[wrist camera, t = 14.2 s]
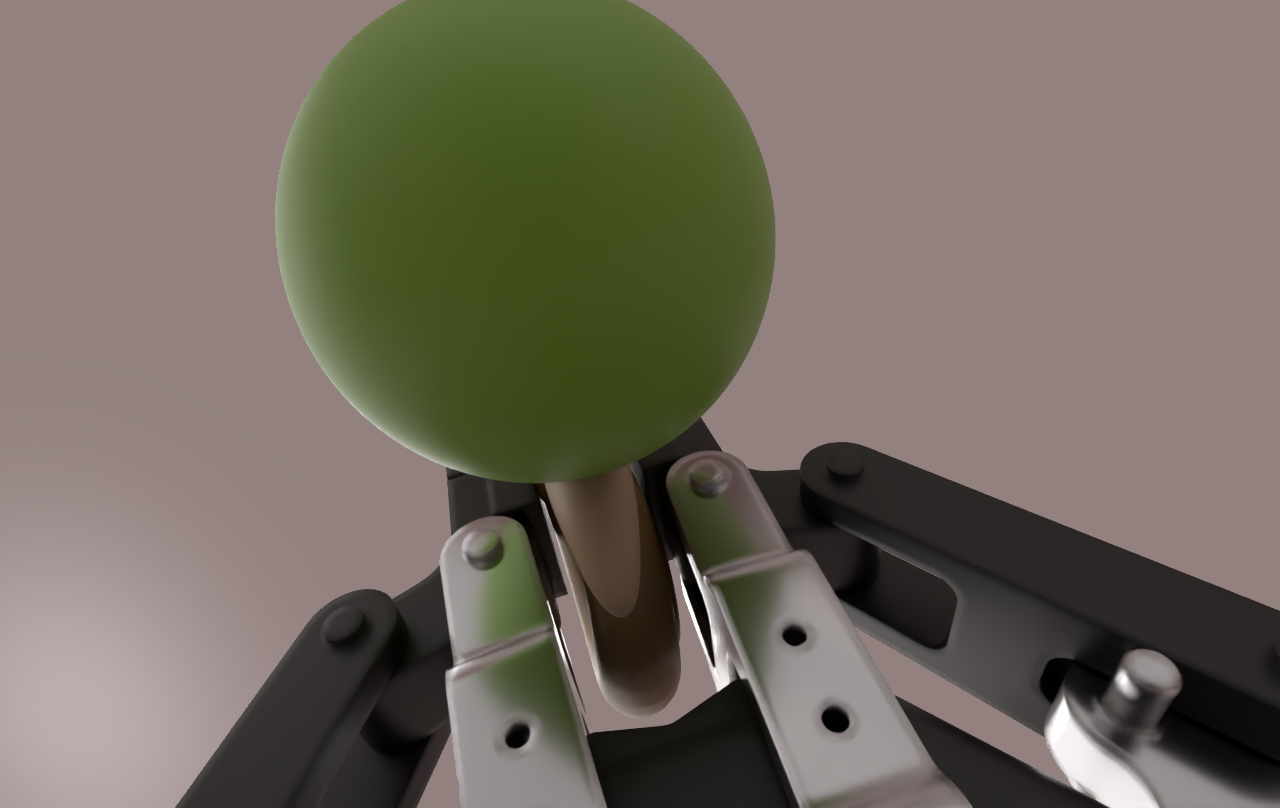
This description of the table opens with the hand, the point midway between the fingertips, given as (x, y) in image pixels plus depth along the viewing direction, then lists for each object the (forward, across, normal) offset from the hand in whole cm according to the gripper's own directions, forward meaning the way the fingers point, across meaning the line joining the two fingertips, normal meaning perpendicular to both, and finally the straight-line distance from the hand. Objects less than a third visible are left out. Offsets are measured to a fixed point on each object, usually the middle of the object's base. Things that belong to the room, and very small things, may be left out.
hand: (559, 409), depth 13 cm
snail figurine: (-3, 0, -8) cm, 8 cm away
